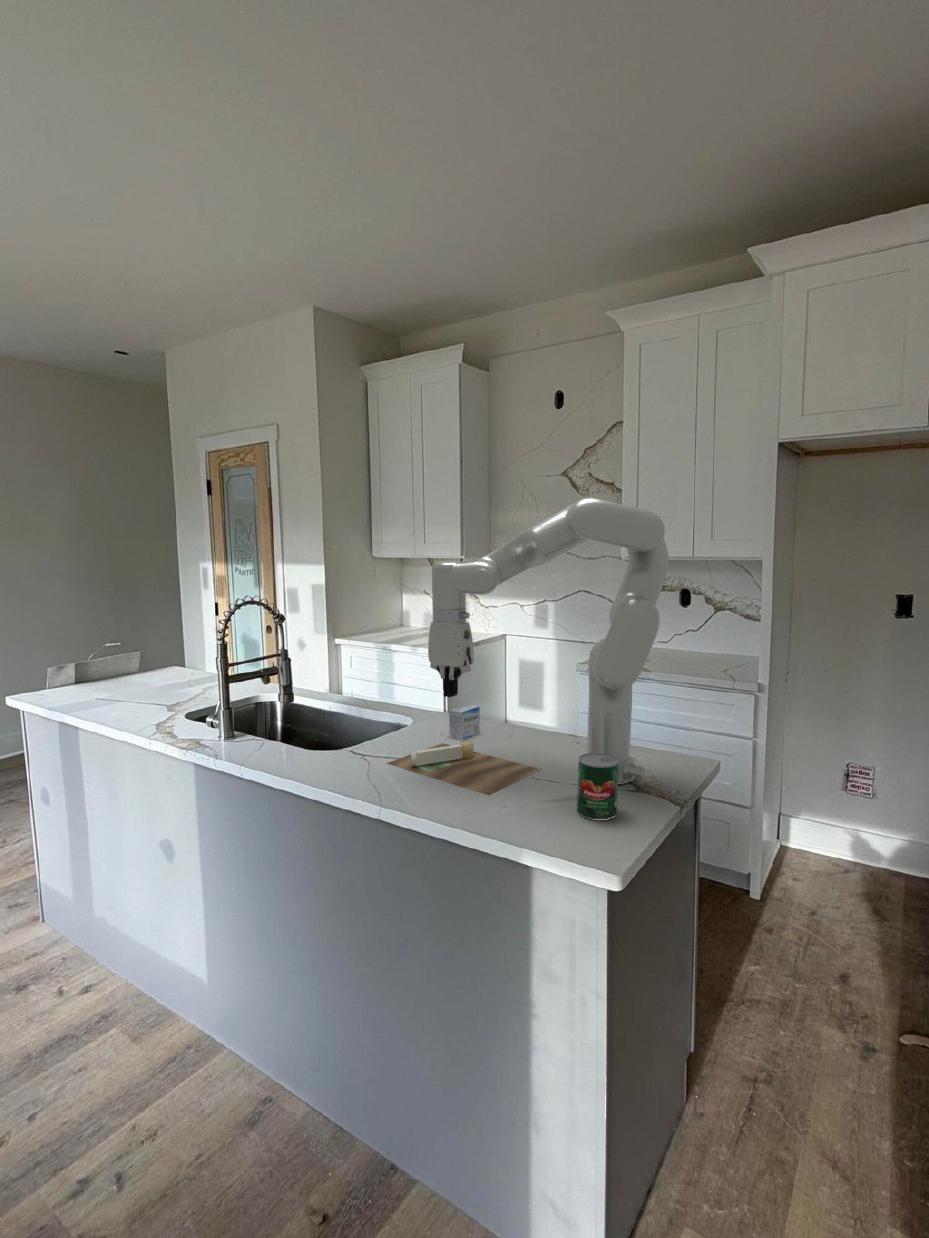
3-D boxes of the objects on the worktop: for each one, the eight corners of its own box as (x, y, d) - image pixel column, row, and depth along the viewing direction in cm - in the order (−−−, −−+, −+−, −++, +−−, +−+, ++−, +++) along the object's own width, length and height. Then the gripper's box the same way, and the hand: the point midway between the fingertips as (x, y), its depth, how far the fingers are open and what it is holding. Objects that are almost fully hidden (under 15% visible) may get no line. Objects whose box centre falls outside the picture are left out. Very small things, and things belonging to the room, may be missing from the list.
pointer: (469, 753, 167) (469, 739, 166) (475, 757, 164) (475, 743, 164) (408, 763, 160) (408, 749, 159) (414, 767, 157) (414, 753, 156)
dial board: (541, 774, 158) (541, 768, 157) (488, 800, 142) (489, 794, 142) (442, 747, 176) (442, 742, 176) (386, 768, 161) (386, 762, 161)
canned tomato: (587, 823, 132) (588, 767, 130) (570, 807, 139) (571, 754, 138) (624, 818, 134) (626, 764, 132) (605, 803, 141) (607, 751, 140)
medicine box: (462, 744, 179) (462, 712, 178) (448, 741, 181) (448, 709, 180) (479, 737, 185) (480, 706, 184) (466, 734, 188) (466, 703, 187)
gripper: (486, 616, 154) (486, 696, 156) (433, 612, 162) (435, 688, 165) (466, 620, 148) (467, 703, 150) (413, 616, 156) (415, 694, 159)
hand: (450, 695), depth 157 cm, fingers closed
